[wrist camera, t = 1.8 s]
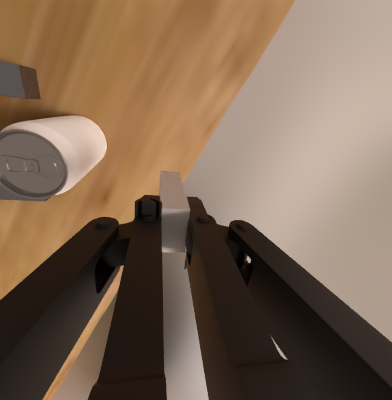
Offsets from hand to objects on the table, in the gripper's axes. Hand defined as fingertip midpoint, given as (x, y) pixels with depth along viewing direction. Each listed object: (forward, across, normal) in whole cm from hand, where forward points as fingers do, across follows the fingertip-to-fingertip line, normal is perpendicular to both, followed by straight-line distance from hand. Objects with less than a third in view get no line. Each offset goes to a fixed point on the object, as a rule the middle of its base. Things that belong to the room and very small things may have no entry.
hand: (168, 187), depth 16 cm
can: (+14, -11, 0) cm, 18 cm away
